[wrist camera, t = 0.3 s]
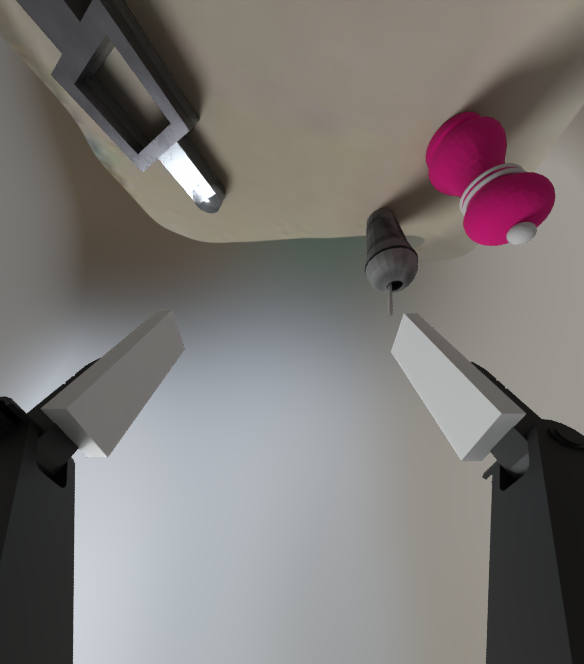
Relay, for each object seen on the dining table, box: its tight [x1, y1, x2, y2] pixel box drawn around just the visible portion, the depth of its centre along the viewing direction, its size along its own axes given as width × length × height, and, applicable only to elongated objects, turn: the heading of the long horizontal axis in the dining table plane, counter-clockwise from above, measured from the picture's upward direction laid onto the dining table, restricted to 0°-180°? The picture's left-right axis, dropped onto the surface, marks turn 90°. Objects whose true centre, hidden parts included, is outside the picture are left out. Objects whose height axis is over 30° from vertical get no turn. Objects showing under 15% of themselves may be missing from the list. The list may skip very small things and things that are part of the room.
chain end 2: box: [85, 0, 225, 213], centre depth 29 cm, size 19×10×3 cm, turn 28°
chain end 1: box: [16, 0, 194, 172], centre depth 22 cm, size 19×10×4 cm, turn 28°
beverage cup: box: [365, 208, 418, 316], centre depth 32 cm, size 7×7×20 cm
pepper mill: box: [426, 112, 555, 246], centre depth 23 cm, size 7×7×20 cm
